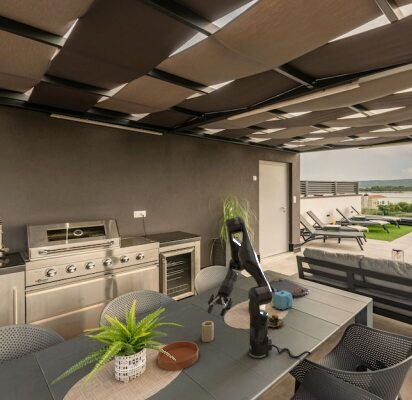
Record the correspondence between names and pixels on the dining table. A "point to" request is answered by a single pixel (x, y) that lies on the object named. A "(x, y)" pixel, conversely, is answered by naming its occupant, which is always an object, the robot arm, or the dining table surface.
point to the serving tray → (287, 287)
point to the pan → (178, 355)
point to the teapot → (282, 299)
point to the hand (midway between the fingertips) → (214, 314)
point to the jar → (207, 331)
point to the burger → (275, 321)
